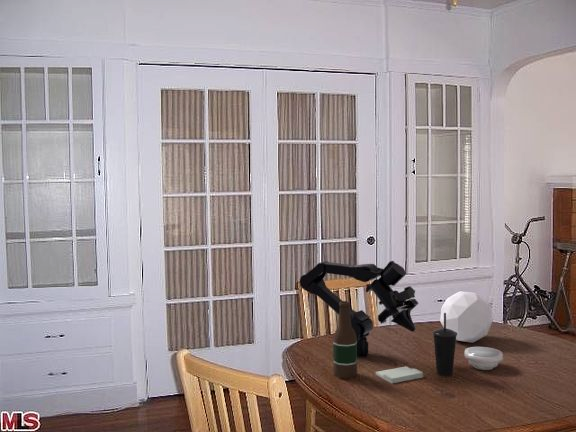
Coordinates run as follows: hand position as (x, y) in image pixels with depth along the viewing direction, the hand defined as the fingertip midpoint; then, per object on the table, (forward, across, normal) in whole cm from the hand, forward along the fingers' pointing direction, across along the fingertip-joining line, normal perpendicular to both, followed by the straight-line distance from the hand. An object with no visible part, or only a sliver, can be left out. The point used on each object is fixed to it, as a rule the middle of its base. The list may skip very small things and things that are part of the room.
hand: (414, 330), depth 188 cm
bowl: (+21, +14, -4) cm, 26 cm away
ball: (+10, +40, +8) cm, 42 cm away
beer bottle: (-1, -20, +19) cm, 28 cm away
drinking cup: (+17, 0, +1) cm, 17 cm away
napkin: (+9, -11, +8) cm, 16 cm away
